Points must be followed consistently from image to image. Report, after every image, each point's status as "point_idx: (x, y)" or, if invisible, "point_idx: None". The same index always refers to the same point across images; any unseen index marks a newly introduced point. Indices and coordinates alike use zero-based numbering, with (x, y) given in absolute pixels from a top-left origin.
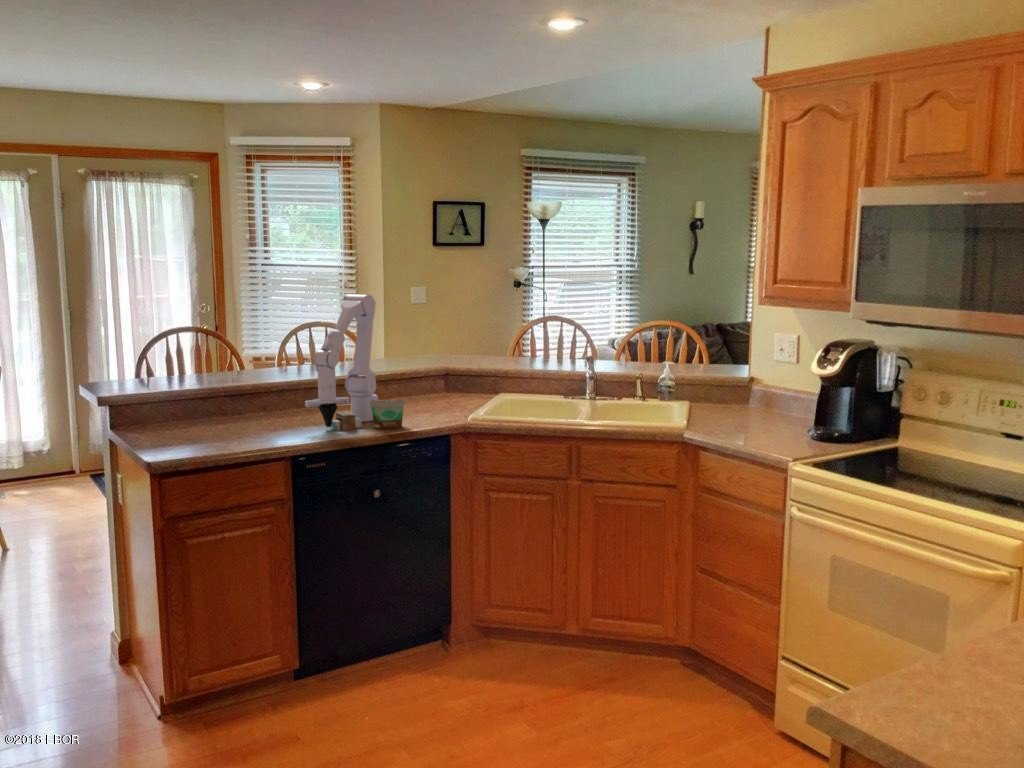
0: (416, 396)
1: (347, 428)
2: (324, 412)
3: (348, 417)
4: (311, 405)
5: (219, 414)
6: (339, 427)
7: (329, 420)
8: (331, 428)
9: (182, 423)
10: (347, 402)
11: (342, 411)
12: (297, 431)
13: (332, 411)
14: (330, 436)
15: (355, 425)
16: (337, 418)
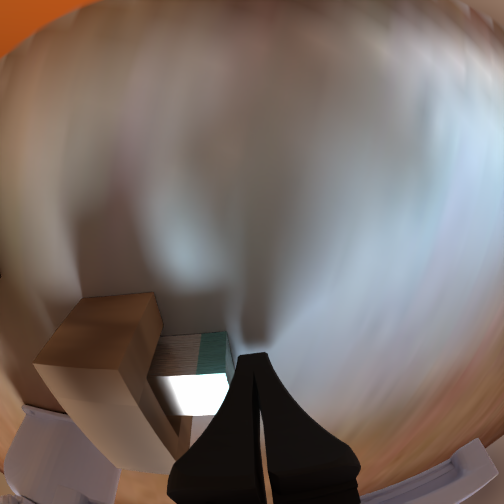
0: None
1: (125, 301)
2: (322, 430)
3: (84, 355)
4: (439, 473)
5: None
6: (178, 345)
7: (253, 386)
8: (231, 361)
9: (488, 437)
10: (69, 495)
11: (142, 470)
12: (407, 359)
13: (228, 444)
14: (294, 136)
15: (70, 312)
16: (179, 430)
